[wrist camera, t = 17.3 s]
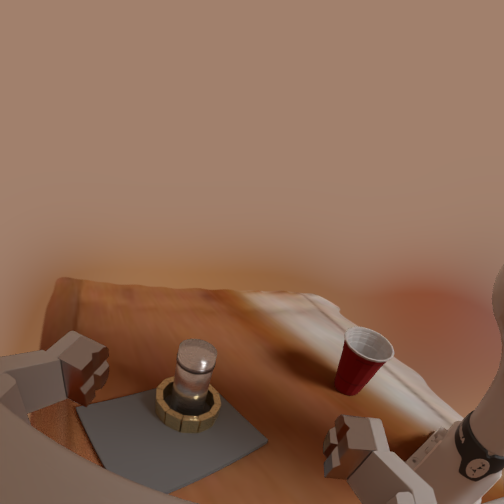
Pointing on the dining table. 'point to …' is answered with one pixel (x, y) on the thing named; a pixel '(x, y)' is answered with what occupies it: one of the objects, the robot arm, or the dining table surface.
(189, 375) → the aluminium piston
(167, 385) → the brass collar
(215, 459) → the rubber mat
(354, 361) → the plastic cup
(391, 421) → the dining table surface
